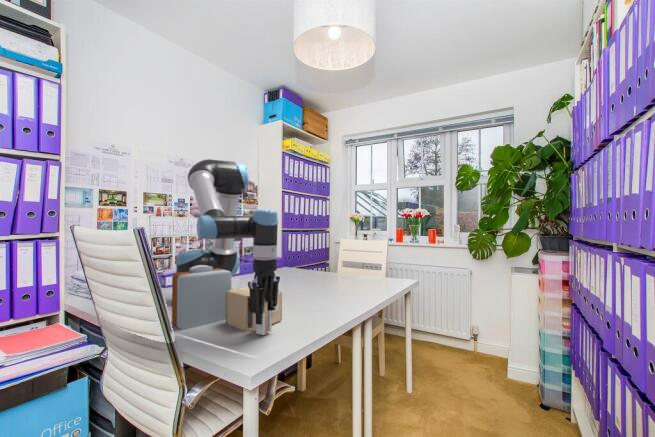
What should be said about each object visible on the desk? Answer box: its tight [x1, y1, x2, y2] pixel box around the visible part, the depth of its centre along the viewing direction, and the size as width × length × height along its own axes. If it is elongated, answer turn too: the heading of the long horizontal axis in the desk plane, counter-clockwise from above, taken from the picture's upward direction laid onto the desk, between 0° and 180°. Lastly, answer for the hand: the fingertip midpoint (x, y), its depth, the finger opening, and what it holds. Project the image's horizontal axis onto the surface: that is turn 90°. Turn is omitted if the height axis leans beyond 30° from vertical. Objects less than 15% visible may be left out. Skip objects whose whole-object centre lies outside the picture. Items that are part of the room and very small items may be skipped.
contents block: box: [248, 307, 253, 326], centre depth 111 cm, size 5×5×5 cm
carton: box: [225, 286, 280, 332], centre depth 112 cm, size 12×14×12 cm
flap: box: [252, 291, 283, 336], centre depth 106 cm, size 6×15×10 cm, turn 149°
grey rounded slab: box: [171, 265, 232, 331], centre depth 113 cm, size 18×9×21 cm, turn 134°
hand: (263, 332), depth 99 cm, fingers closed on flap, 3 cm apart
